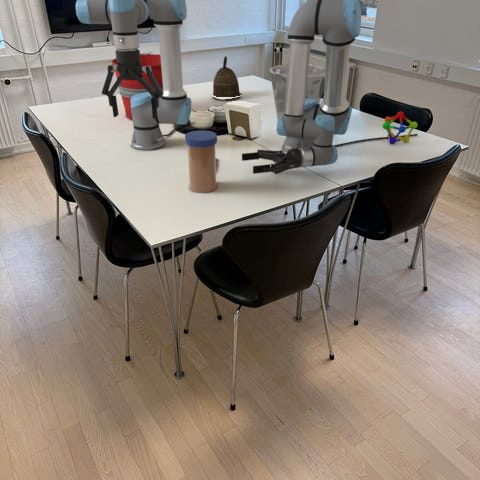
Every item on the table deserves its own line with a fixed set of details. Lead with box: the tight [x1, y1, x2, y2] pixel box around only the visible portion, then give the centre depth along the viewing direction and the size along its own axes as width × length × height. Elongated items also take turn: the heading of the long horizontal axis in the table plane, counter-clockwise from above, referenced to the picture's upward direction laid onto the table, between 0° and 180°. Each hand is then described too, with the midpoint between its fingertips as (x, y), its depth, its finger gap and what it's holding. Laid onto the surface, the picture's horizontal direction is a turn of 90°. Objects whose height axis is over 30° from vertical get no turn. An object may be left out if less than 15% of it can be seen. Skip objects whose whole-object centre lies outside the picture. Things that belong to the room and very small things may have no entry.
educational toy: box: [382, 110, 418, 145], centre depth 207 cm, size 16×13×15 cm
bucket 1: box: [108, 51, 163, 121], centre depth 240 cm, size 35×35×30 cm
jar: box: [186, 144, 217, 194], centre depth 163 cm, size 10×10×20 cm
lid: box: [184, 129, 218, 147], centre depth 158 cm, size 11×11×2 cm
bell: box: [212, 56, 242, 97], centre depth 278 cm, size 19×26×20 cm
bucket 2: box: [269, 64, 325, 121], centre depth 226 cm, size 30×30×28 cm
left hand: (135, 116), depth 150 cm, fingers open, 13 cm apart
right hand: (247, 163), depth 168 cm, fingers open, 13 cm apart
